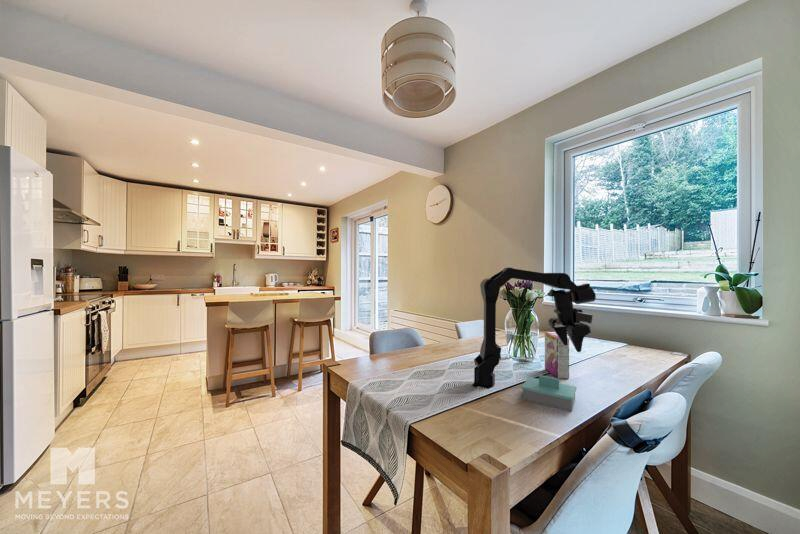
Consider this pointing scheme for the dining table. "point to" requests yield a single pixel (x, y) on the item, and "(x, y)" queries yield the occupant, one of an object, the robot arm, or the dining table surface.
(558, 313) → the robot arm
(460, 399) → the dining table surface
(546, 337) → the candy bar box
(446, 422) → the dining table surface
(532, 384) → the teal lid
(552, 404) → the parts tub
